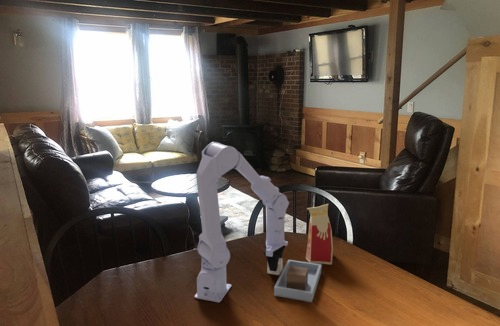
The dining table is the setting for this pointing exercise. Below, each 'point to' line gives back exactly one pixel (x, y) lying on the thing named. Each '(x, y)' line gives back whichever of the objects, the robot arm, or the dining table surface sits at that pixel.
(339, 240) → the dining table surface
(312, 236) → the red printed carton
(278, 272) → the cream box
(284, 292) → the tote
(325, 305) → the dining table surface
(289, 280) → the walnut block
